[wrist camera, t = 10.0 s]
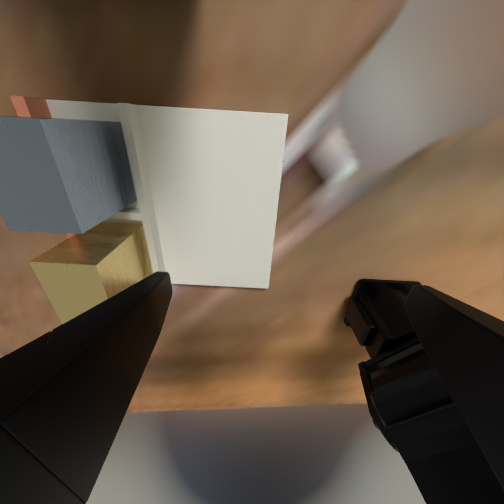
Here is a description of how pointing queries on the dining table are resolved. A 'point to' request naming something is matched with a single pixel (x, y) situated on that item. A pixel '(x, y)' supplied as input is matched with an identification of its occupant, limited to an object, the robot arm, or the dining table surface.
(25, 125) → the slate tin
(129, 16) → the dining table surface
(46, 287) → the ochre tin
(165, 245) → the shelf board
